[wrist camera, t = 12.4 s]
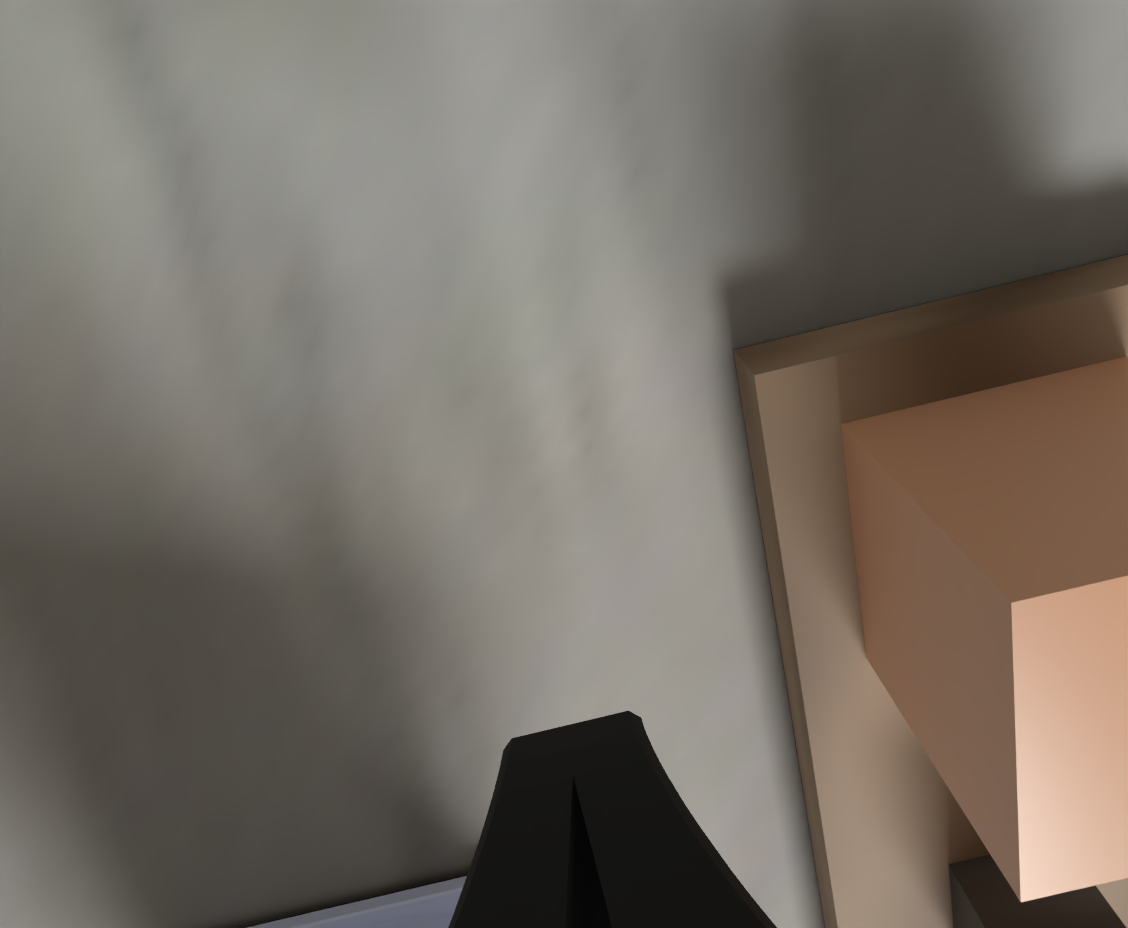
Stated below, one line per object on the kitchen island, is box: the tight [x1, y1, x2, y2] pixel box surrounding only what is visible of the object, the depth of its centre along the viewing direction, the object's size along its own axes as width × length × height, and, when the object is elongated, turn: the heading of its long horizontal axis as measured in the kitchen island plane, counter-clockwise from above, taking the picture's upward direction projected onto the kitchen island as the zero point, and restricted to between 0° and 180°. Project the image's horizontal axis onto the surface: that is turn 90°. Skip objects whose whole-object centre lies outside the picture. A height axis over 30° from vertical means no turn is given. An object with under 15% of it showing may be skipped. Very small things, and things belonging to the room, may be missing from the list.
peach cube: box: [841, 357, 1128, 902], centre depth 15 cm, size 5×5×6 cm
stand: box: [733, 254, 1128, 928], centre depth 19 cm, size 8×18×6 cm, turn 13°
